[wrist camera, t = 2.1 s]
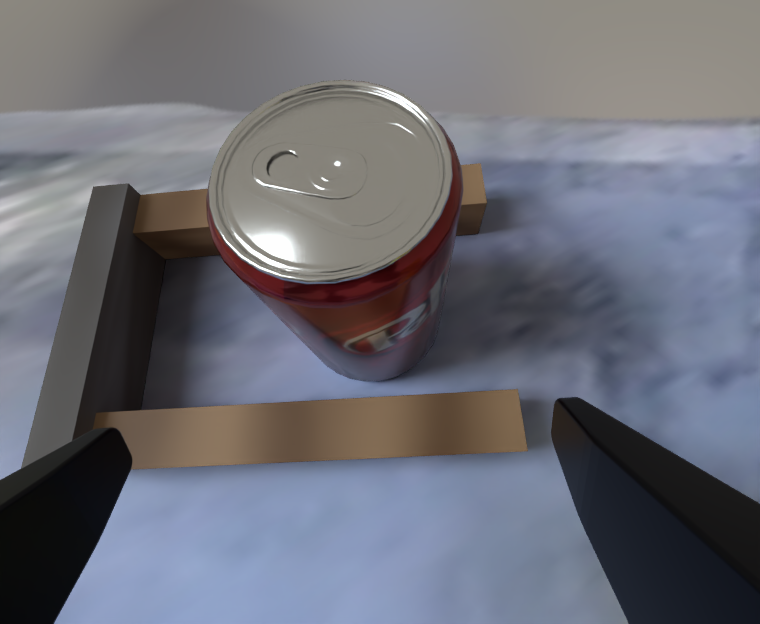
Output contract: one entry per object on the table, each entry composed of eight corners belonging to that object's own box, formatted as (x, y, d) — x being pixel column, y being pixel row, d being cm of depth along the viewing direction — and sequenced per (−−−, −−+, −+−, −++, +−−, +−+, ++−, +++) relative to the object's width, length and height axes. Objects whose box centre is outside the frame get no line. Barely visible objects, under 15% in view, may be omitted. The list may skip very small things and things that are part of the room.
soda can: (453, 275, 22) (493, 90, 11) (419, 401, 20) (424, 331, 9) (333, 247, 23) (258, 55, 12) (289, 362, 21) (146, 256, 10)
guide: (472, 197, 24) (483, 149, 20) (510, 451, 19) (534, 450, 15) (141, 226, 25) (93, 186, 21) (93, 471, 20) (19, 474, 16)
